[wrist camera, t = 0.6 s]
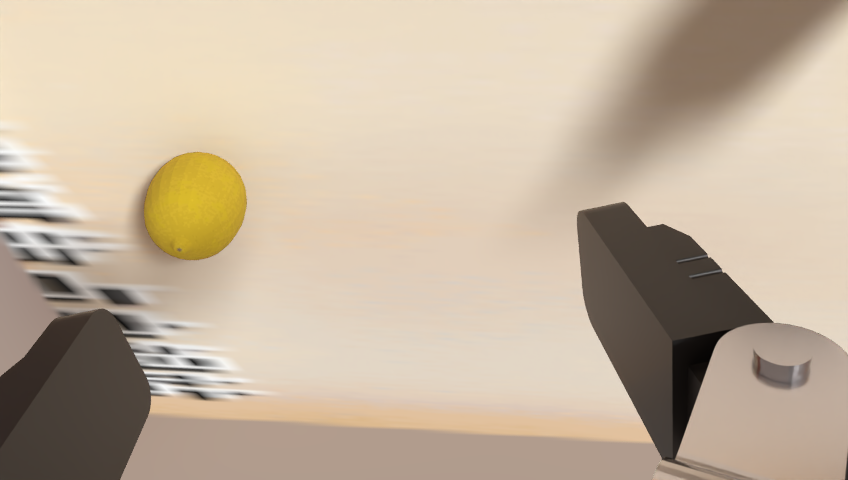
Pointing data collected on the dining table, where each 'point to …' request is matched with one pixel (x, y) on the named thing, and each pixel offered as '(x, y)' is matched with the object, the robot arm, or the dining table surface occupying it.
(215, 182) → the lemon
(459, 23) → the dining table surface
